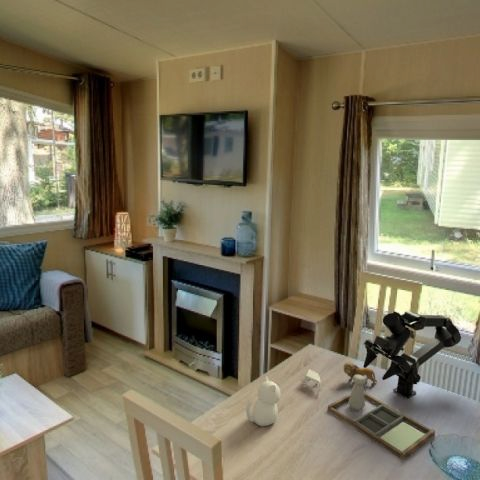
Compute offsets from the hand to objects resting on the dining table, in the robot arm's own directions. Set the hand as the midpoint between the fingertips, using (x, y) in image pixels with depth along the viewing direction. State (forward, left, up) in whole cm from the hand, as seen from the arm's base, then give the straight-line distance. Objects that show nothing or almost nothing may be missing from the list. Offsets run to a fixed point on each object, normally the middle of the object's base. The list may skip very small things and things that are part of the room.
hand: (373, 373), depth 147 cm
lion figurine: (-9, -11, -13) cm, 19 cm away
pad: (+7, +18, -13) cm, 23 cm away
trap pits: (+7, +8, -13) cm, 17 cm away
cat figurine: (+40, -16, -13) cm, 45 cm away
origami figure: (+10, -20, -13) cm, 26 cm away
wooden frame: (+7, +8, -13) cm, 17 cm away
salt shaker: (+7, -1, -13) cm, 15 cm away
